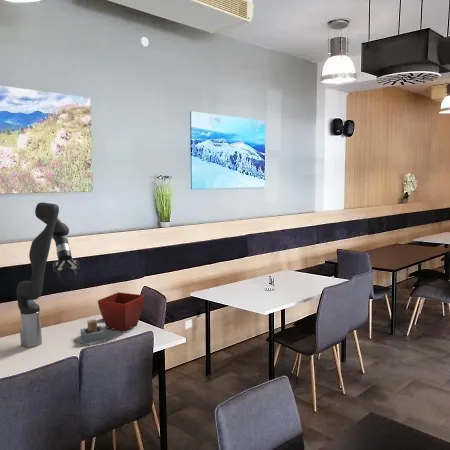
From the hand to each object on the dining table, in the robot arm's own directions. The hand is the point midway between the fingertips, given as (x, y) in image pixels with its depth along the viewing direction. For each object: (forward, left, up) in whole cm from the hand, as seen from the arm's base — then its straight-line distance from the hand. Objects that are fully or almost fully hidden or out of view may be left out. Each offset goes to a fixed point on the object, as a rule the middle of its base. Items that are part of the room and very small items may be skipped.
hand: (68, 276), depth 252 cm
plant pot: (+19, -21, -31) cm, 42 cm away
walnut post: (-3, -24, -30) cm, 38 cm away
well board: (0, -24, -31) cm, 39 cm away
